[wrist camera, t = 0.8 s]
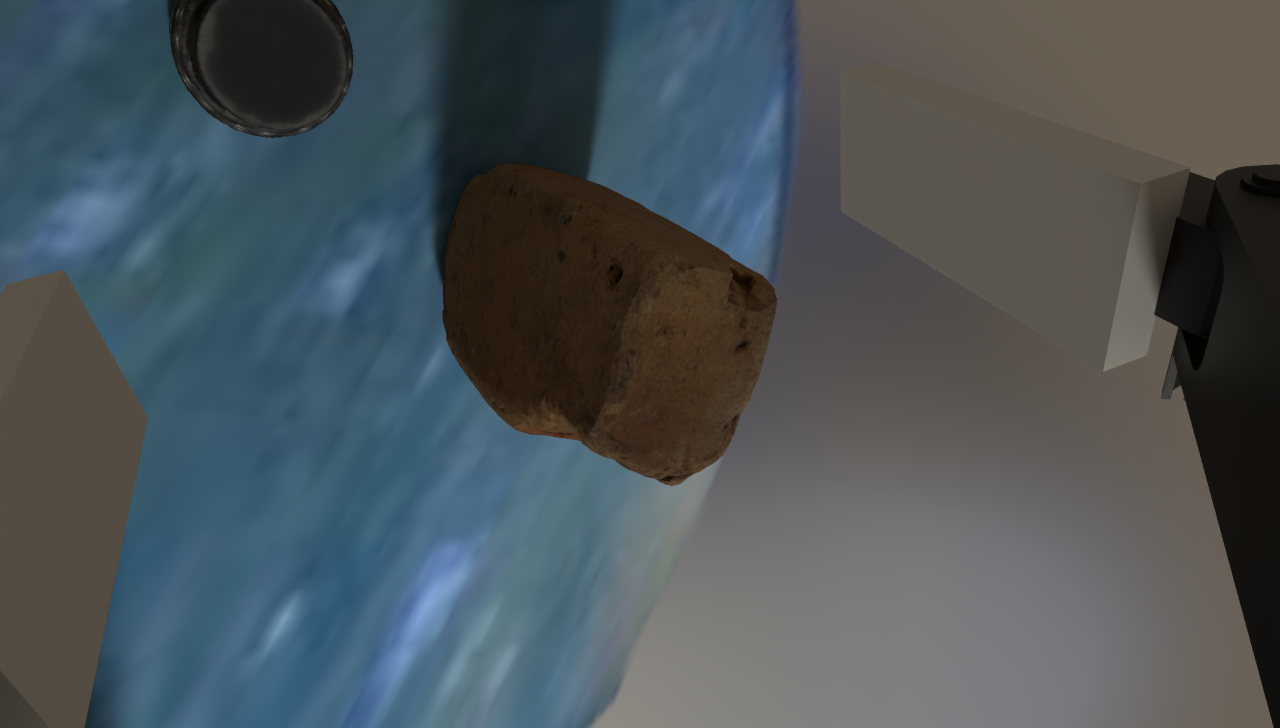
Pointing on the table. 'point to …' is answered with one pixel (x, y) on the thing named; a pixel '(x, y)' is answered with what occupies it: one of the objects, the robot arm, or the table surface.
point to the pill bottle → (263, 61)
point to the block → (602, 320)
